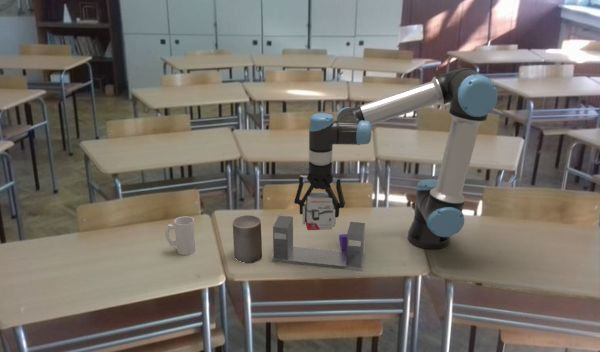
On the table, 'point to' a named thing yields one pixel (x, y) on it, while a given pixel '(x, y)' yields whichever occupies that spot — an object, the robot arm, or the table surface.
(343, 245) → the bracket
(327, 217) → the ink box
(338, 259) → the rail
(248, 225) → the pillar candle
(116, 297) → the table surface
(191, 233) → the mug
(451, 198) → the robot arm
